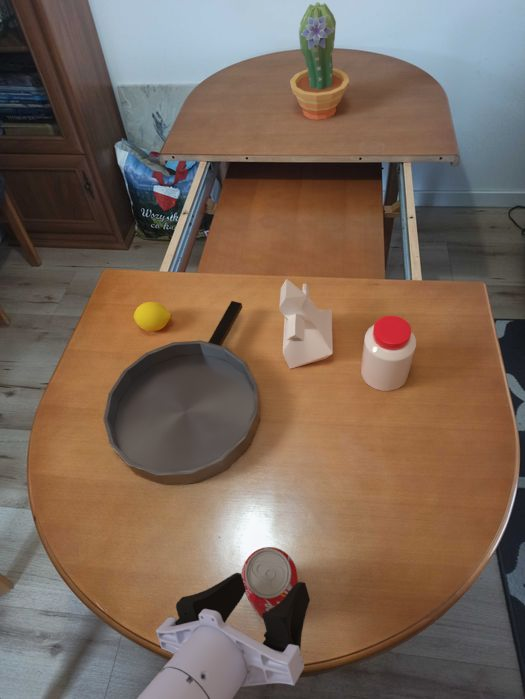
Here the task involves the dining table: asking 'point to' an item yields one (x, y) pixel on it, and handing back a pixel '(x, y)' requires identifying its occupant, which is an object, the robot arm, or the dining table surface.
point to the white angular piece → (304, 327)
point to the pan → (184, 409)
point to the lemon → (151, 316)
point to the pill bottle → (387, 353)
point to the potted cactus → (318, 65)
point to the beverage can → (268, 578)
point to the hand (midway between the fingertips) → (271, 586)
